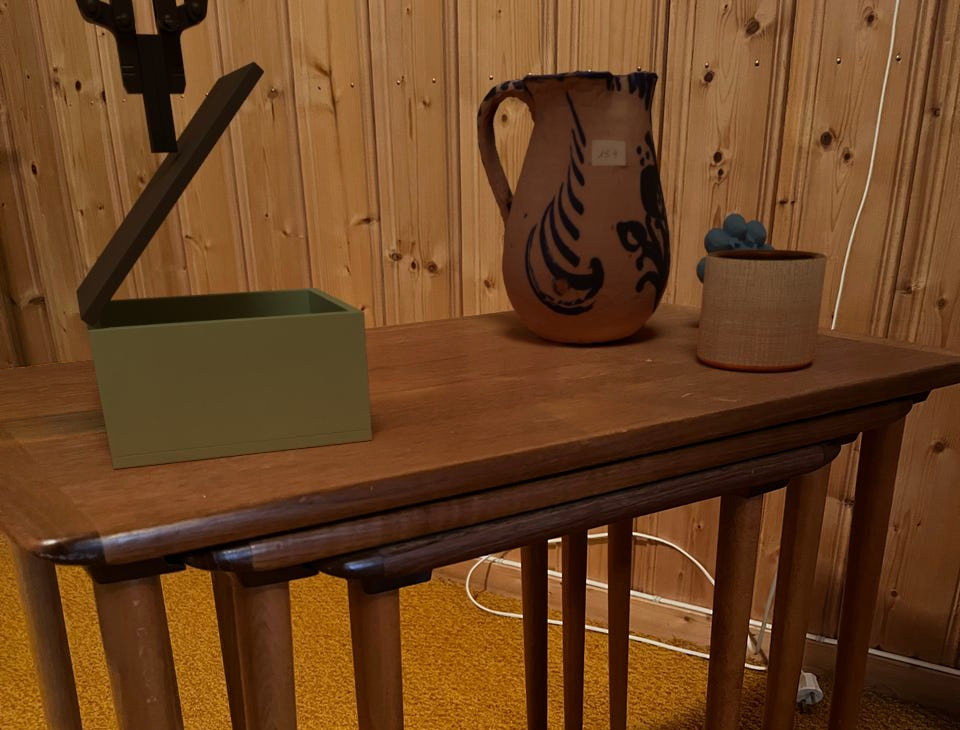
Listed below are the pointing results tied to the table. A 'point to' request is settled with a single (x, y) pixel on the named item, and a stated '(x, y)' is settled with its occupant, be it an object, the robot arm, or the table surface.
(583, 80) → the ceramic pitcher
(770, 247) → the grapes
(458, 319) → the table surface
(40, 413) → the table surface
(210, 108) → the storage bin lid
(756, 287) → the planter
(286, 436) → the olive green storage bin
